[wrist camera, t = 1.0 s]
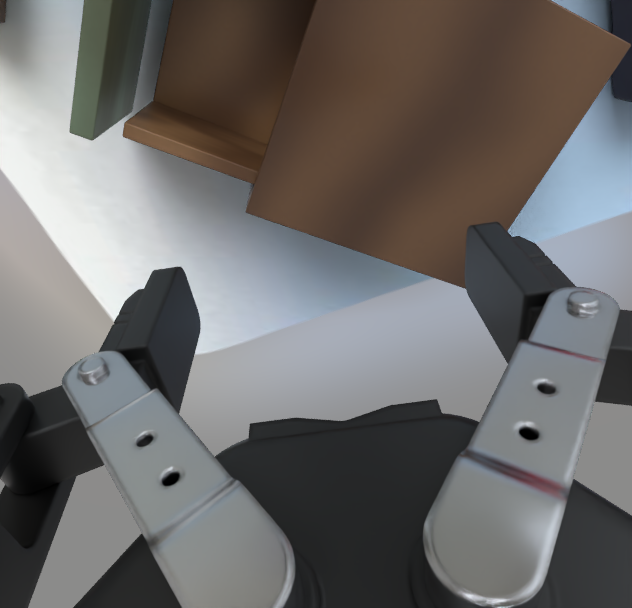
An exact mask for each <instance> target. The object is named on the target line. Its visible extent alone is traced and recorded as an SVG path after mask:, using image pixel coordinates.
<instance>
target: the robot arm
mask: <svg viewBox="0 0 632 608" xmlns="http://www.w3.org/2000/svg"><path fill="white" fill-rule="evenodd" d="M465 285H466V290H467V293H468V295H469V297H470V299H471V301H472V303H473V304H474V306H475V308H476V309H477V311H478V313H479V315H480V316H481V318H482V320H483V321H484V323H485V325H486V327H487V329H488V330H489V332H490V334H491V336H492V337H493V339H494V341H495V342H496V344H497V346H498V348H499V349H500V351H501V353H502V355H503V356H504V358H505V360H506V362H507V363H508V366H507V368H506V370H505V372H504V374H503V376H502V378H501V380H500V382H499V384H498V386H497V388H496V390H495V392H494V394H493V396H492V398H491V400H490V402H489V404H488V406H487V408H486V410H485V412H484V414H483V417H482V418H481V420H480V422H478V421H475V420H472V419H469V418H465V417H462V416H457V415H452V414H443V413H442V412H441V410H440V407H439V404H438V401H437V400H428V401H420V402H412V403H405V404H398V405H390V406H387V407H384V408H381V409H379V410H376V411H373V412H370V413H367V414H364V415H361V416H358V417H355V418H352V419H350V420H346V421H331V420H318V419H305V418H290V419H282V420H274V421H267V422H259V423H252V424H250V429H249V438H248V439H246V440H243V441H241V442H238V443H236V444H234V445H232V446H230V447H229V448H227V449H225V450H224V451H222V452H221V453H219V454H218V455H216V456H215V457H214V456H213V455H212V453H211V452H210V451H209V450H208V448H207V447H206V446H205V445H204V444H203V443H202V441H201V440H200V439H199V438H198V436H196V434H195V433H194V432H193V430H192V429H191V428H190V427H189V426H188V424H186V422H185V421H184V420H183V418H182V417H181V416H180V415H179V411H180V408H181V403H182V400H183V396H184V392H185V388H186V384H187V380H188V376H189V373H190V369H191V365H192V361H193V357H194V354H195V350H196V346H197V342H198V338H199V334H200V317H199V313H198V309H197V307H196V304H195V301H194V298H193V295H192V292H191V289H190V286H189V283H188V280H187V277H186V274H185V272H184V270H183V269H182V268H181V267H173V268H166V269H159V270H154V271H153V272H152V274H151V276H150V278H149V280H148V282H147V284H146V286H145V288H144V289H140V290H137V291H136V292H135V293H134V294H133V295H131V296H130V297H129V298H128V299H127V300H126V301H125V303H124V304H123V306H122V308H121V310H120V312H119V315H118V316H117V318H116V320H115V322H114V325H113V326H112V328H111V329H110V331H109V333H108V335H107V337H106V339H105V341H104V343H103V345H102V347H101V348H100V351H99V352H98V353H94V354H92V355H89V356H87V357H85V358H83V359H81V360H80V361H78V362H77V363H75V364H74V365H73V366H71V367H70V368H69V370H68V371H67V372H66V373H65V375H64V377H63V379H62V385H61V386H59V387H56V388H53V389H50V390H47V391H45V392H41V393H39V394H36V395H33V396H30V397H28V395H27V394H26V392H25V391H24V390H23V388H22V387H21V386H20V385H18V384H14V383H7V384H1V385H0V479H1V480H2V481H3V482H4V483H5V486H4V488H3V490H2V492H1V494H0V608H28V606H29V603H30V600H31V598H32V595H33V592H34V590H35V587H36V584H37V582H38V579H39V576H40V573H41V571H42V568H43V565H44V562H45V560H46V557H47V555H48V551H49V549H50V546H51V544H52V541H53V538H54V536H55V533H56V530H57V527H58V525H59V522H60V519H61V517H62V514H63V511H64V508H65V506H66V503H67V500H68V498H69V495H70V492H71V490H72V487H73V484H74V482H75V479H76V476H78V475H80V474H83V473H85V472H88V471H90V470H93V469H95V468H98V467H100V466H103V465H105V467H106V468H107V470H108V472H109V474H110V476H111V478H112V479H113V481H114V483H115V485H116V487H117V489H118V490H119V492H120V494H121V496H122V498H123V499H124V501H125V503H126V505H127V507H128V508H129V510H130V512H131V514H132V516H133V518H134V519H135V521H136V523H137V525H138V526H139V528H140V530H141V532H142V534H141V535H140V536H139V537H138V538H137V539H136V540H135V541H134V542H133V543H132V544H131V546H130V547H129V548H128V549H127V550H126V551H125V552H124V553H123V554H122V555H121V556H120V558H119V559H118V560H117V561H116V562H115V563H114V564H113V565H112V566H111V567H110V568H109V569H108V570H107V572H106V573H105V574H104V575H103V576H102V577H101V578H100V579H99V580H98V581H97V583H95V585H94V586H93V587H92V588H91V589H90V590H89V591H88V592H87V593H86V595H84V597H83V598H82V599H81V600H80V601H79V602H78V603H77V604H76V605H75V606H74V607H73V608H632V516H631V515H630V514H628V513H627V512H625V511H623V510H622V509H620V508H619V507H617V506H616V505H614V504H612V503H611V502H609V501H608V500H606V499H605V498H603V497H601V496H600V495H598V494H597V493H595V492H593V491H592V490H590V489H589V488H587V487H585V486H584V485H583V484H581V483H579V482H578V481H576V480H575V479H573V478H574V474H575V470H576V467H577V463H578V460H579V456H580V453H581V449H582V445H583V442H584V438H585V434H586V431H587V427H588V424H589V420H590V417H591V413H592V409H593V406H594V402H604V403H613V404H623V405H631V406H632V311H628V310H620V308H619V305H618V303H617V302H616V301H615V300H614V299H613V298H612V297H610V296H609V295H607V294H605V293H603V292H601V291H598V290H595V289H590V288H584V287H576V286H575V285H574V284H573V283H572V282H571V281H570V280H569V279H568V278H567V277H566V275H565V274H564V273H562V271H561V270H560V269H559V268H558V267H557V266H556V265H555V264H553V263H552V261H551V260H550V259H549V258H548V257H547V256H545V254H544V252H543V251H542V250H541V249H540V248H539V247H538V246H537V245H536V244H535V243H533V242H531V241H528V240H526V239H524V238H522V237H520V236H516V237H512V236H511V235H510V234H509V233H508V232H507V231H506V230H505V229H504V227H503V226H502V225H501V224H500V223H499V222H490V223H483V224H476V225H470V226H469V227H468V229H467V236H466V256H465Z"/></svg>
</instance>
